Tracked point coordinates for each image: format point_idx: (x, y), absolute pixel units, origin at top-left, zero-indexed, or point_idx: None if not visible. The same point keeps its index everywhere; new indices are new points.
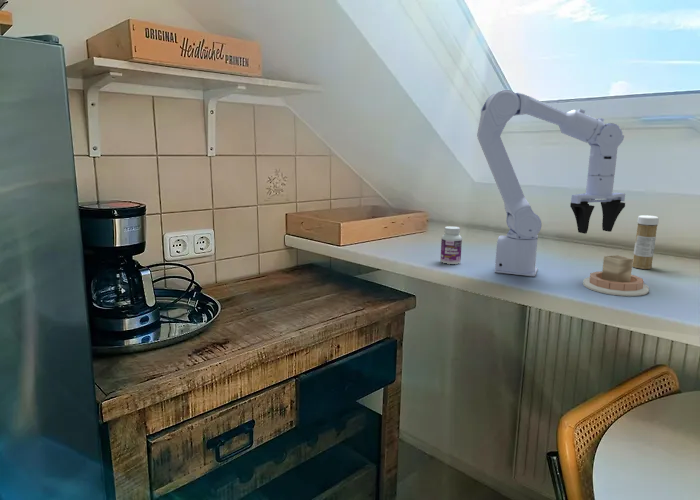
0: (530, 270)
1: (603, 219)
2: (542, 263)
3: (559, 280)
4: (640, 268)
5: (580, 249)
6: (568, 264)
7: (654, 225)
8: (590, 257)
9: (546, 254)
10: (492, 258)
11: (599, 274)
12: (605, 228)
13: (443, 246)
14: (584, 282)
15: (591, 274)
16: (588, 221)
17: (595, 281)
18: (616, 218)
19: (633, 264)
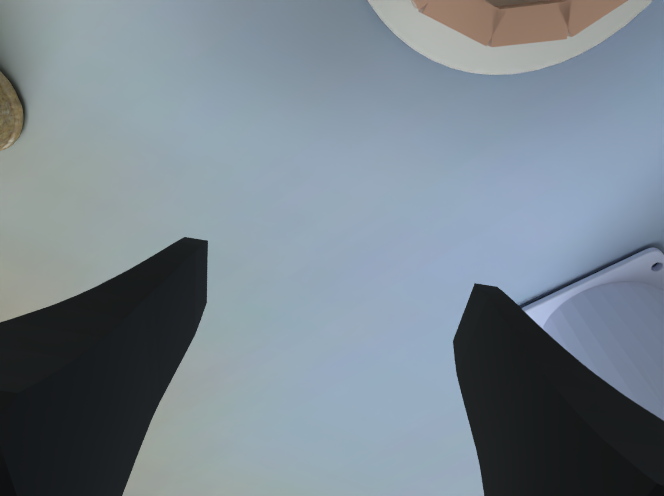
0: (639, 288)
1: (165, 380)
2: (378, 365)
3: (616, 150)
4: (9, 83)
5: None
6: (289, 309)
7: None
8: None
9: (231, 435)
10: (478, 480)
11: (516, 7)
12: (200, 292)
13: None
14: (647, 4)
15: (594, 13)
16: (533, 348)
17: None
18: (98, 287)
19: (13, 132)
